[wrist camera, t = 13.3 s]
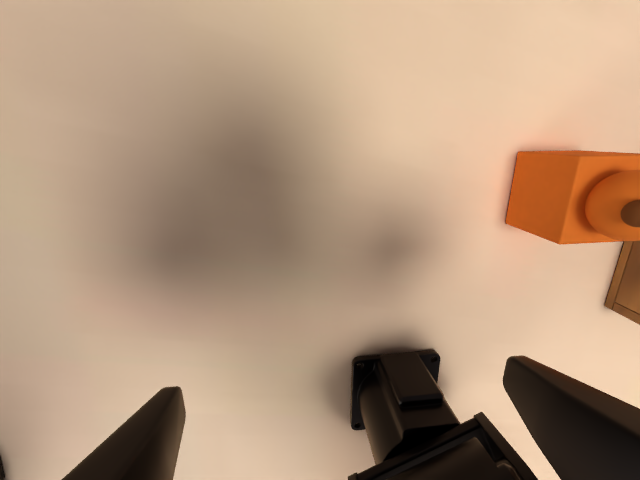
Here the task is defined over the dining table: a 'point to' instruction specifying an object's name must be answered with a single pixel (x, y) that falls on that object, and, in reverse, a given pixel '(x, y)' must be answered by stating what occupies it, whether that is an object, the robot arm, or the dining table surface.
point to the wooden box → (626, 283)
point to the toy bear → (576, 196)
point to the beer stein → (1, 471)
